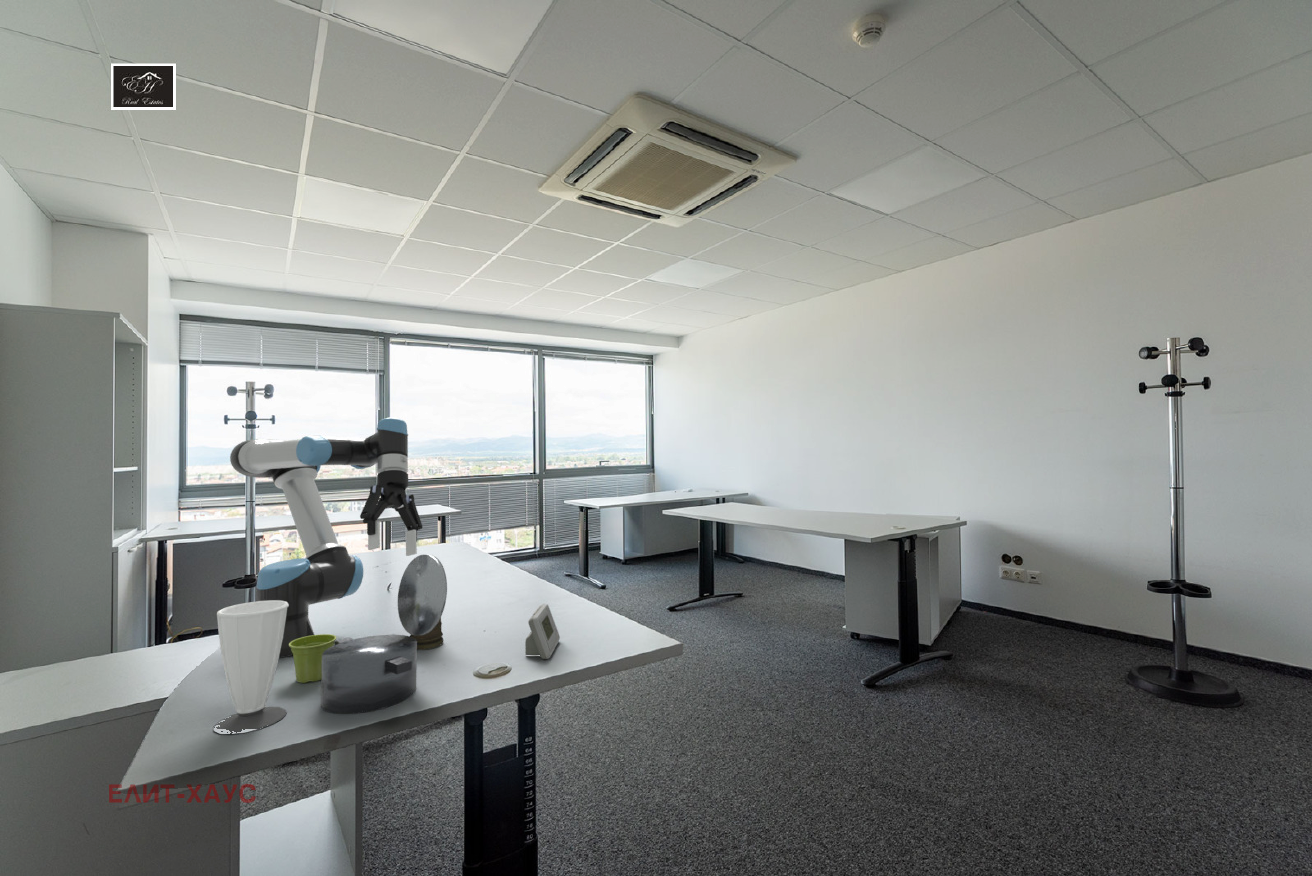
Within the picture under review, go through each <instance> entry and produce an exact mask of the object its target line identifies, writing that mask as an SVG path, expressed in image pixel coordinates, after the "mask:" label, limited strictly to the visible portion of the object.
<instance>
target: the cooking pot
mask: <svg viewBox="0 0 1312 876" xmlns="http://www.w3.org/2000/svg"><path fill="white" fill-rule="evenodd" d="M417 653H418V650H417V640H416V639H415V638H413V637H410V635H405V634H381V635H379V634H378V635H371V636H370V635H369V636H364V637H359V638H355V639H353V638H351V637H345V638H342V639H338V640H337V639H336V640H335V641H334V645H333V646H332V647H330V648H328V649H327V650H325V651H324V652H323V653H322V676H321V681H320V684H321V688H320V707H321V709H323V710H324V711H325V712H327V713H331V714H338V715H352V714H353V715H354V714H362V713H369V712H374V711H379V710H383V709H386V708H389V707H393V706H394V705H397V704H400V703H401V702H403V701H405V700H407V699H409V698H410V697H411V696H413V695H414V693H416V690H417V668H418V667H417V665H418V664H417V663H418V662H417V658H418V657H417V656H418V654H417Z"/></svg>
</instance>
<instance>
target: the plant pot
mask: <svg viewBox="0 0 1312 876" xmlns="http://www.w3.org/2000/svg"><path fill="white" fill-rule="evenodd" d="M335 641H337V636H336V635H335V634H330V633H329V634H328V633H324V634H323V633H322V634H315V635H312V636H306V637H302V638H299V639H296V640H293V641H292V642H290V643H289V647H291V651H292V653H293V655H292V656H293V664H294V672H295V673H294V674H295V681H296V682H298V683H301V684H306V683H308V682H318V681H320V680H321V676H322V653H323V652H324V651H325V650H327V649H328V648H330V647H332V646H334V645H335Z"/></svg>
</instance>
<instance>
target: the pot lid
mask: <svg viewBox="0 0 1312 876" xmlns="http://www.w3.org/2000/svg"><path fill="white" fill-rule="evenodd" d="M447 594H448V582H447V574H446V572H445V567H444V566H443V563H442V562H441V560H440V559H439V558H438V557H436V556H435V555H433V554H420V555H418V556H416V557H414V558H413V559H412V560H411V561H410V562H409V563H408V565H407V566H406V568H405V570H404V571H403V574H402V576H401V579H400V583H399V585H398V592H397V611H398V617H399V621H400V623H401V626H402V628H404V631H405V632H406V633H408V634H409V635H415V636H416V635H425V634H427V633H429V632H430V631H431V630H433V628H434V627H435V626H436V625H437V623H438V622H439V620H440V618H441V619H442V615H443V613H444V610H445V607H446V602H447V596H448V595H447Z"/></svg>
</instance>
